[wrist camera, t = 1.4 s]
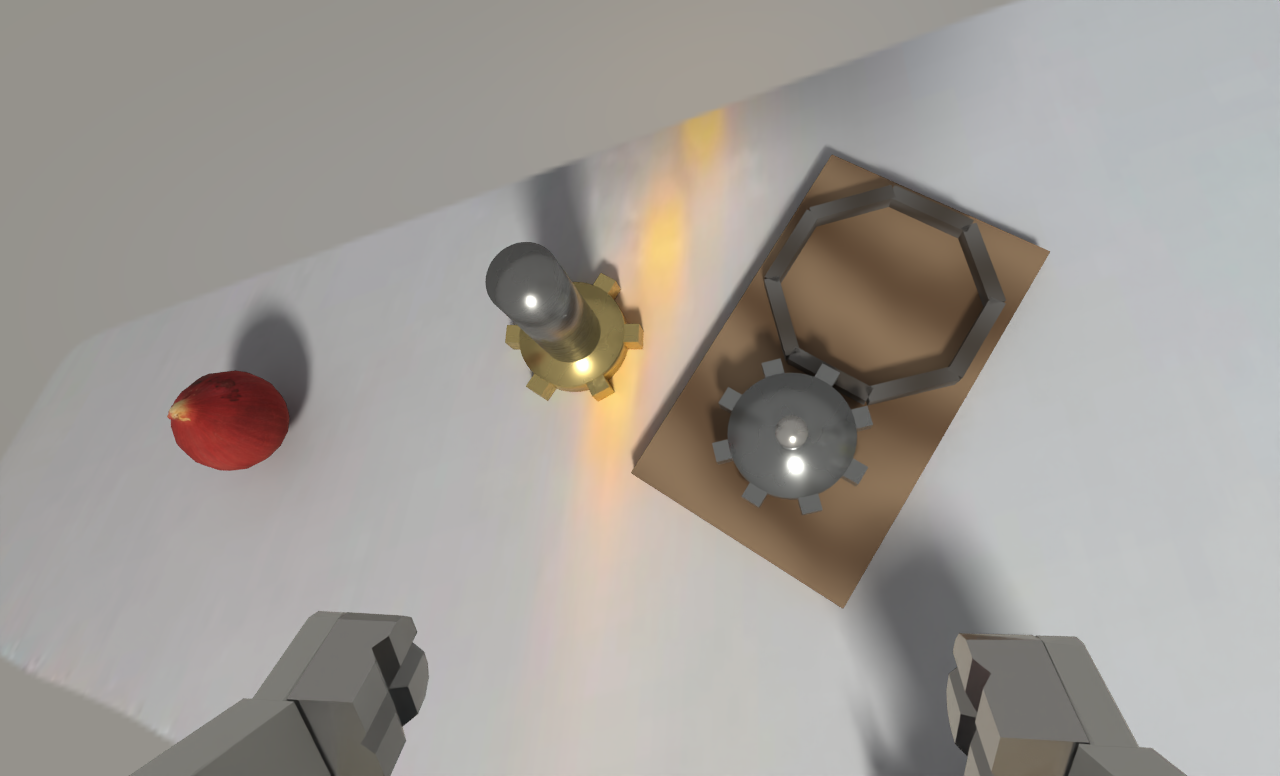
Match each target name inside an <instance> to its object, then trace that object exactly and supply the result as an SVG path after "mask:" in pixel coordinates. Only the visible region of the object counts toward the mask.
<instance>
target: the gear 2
mask: <svg viewBox="0 0 1280 776" xmlns="http://www.w3.org/2000/svg"><path fill="white" fill-rule="evenodd" d="M762 371H763V374H764V379H762V380H760V381H758V382H757V383H755V384H754V385H752V386H751V387H750V388H749V389H747V390H746V391H745V392H744V393H743V394H740V393H738V392H736V391H735V390H733V389H731V388H729V387H728V388H727V390H726V392H725V393H724V395H723V396H722V398H721V400H720V401H719V406H720V408H722V409H723V410H725V411H727V412H729V413H730V414H731V416H730V419H729V424H728V439H727V440H723V441H719V442H715V443H712V445H713V449H714V454H715V458H716V462H717V464H718V465H719V464H723V463H728V462H732V461H734V463H735V465H736V467H737V469H738V470H739V472H740V473H741V475H742V476H743V477H744V478H745V479H746V480H747V481H748V482H749V485H748V487H747V488H746V490H745V491H744V493H743V495H742V498H743V499H744V500H746V501H748V502H749V503H751V504H753V505H754V506H756V507H757V508H760V507H761V505H762V503H763V502H764V500H765V498H766V497H767V495H770V496H773V497H776V498H780V499H788V500H797V501H798V504H799V508H800V512H801V515H802V516H803V515H807V514H812V513H816V512H821V511H822V510H823V509H822V505H821V502H820V498H819V495H818V494H820V493H823V492H824V491H826V490H827V489H829V488H830V487H832V486H833V485H834V484H835V483H836V482H837V481H838V480H839V479H840V478H842V479H843V480H845V481H847V482H848V483H850V484H852V485H854V486H855V487H856V486H857V485H858V484H859V482H860V481H861V479H862V477H863V476H864V474H865V472H866V471H867V469H868V467H867V466H866V465H864V464H862V463H860V462H859V461H857V460H855V459H853V457H854V454H855V450H856V445H857V432H859V431H863V430H867V429H870V428H871V427H872V426H873V422H872V419H871V416H870V413H869V409H868V406H864V407H860V408H856V409H852V410H851V409H850V407H849V405H848V403H847V402H846V401H845V399H844V398H843V397H842V396H841V394H840V393H839V392H838V391H837V390H835V389H834V388H833V386H834V384H835V383H836V381H837V379H838V377H839V374H840V373H839V372H838V371H836V370H834V369H832V368H830V367H828V366H826V365H825V364H823V363H822V365H821V367H820V368H819V370H818V372H817V373H816V375H815V377H813V376H810V375H806V374H801V373H784V369H783V365H782V362H781V358H780V359H776V360H772V361H768V362H764V363H762Z"/></svg>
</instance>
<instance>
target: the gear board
mask: <svg viewBox="0 0 1280 776" xmlns="http://www.w3.org/2000/svg"><path fill="white" fill-rule="evenodd" d="M1049 253H1050V251H1048V250H1046V249H1043V248H1041V247H1039V246H1037V245H1034V244H1032V243H1030V242H1028V241H1025V240H1023V239H1021V238H1019V237H1016V236H1014V235H1012V234H1010V233H1007V232H1005V231H1003V230H1001V229H998V228H996V227H994V226H992V225H989V224H987V223H985V222H983V221H980V220H978V219H976V218H974V217H971V216H969V215H967V214H965V213H962V212H960V211H958V210H956V209H953V208H951V207H949V206H947V205H944V204H942V203H940V202H938V201H935V200H933V199H931V198H929V197H926V196H924V195H922V194H920V193H917V192H915V191H913V190H911V189H908V188H906V187H904V186H902V185H899V184H897V183H895V182H893V181H890V180H888V179H886V178H884V177H881V176H879V175H877V174H875V173H872V172H870V171H868V170H866V169H863V168H861V167H859V166H857V165H854V164H852V163H850V162H848V161H845V160H843V159H841V158H839V157H836V156H834V155H831V157H830V158H829V160H828V162H827V163H826V165H825V166H824V168H823V169H822V171H821V173H820V174H819V176H818V177H817V179H816V181H815V182H814V184H813V185H812V187H811V188H810V190H809V192H808V193H807V195H806V196H805V198H804V200H803V201H802V203H801V204H800V206H799V207H798V209H797V211H796V212H795V214H794V215H793V217H792V219H791V220H790V222H789V223H788V225H787V226H786V228H785V230H784V231H783V233H782V234H781V236H780V238H779V239H778V241H777V242H776V244H775V245H774V247H773V249H772V250H771V252H770V253H769V255H768V257H767V258H766V260H765V261H764V263H763V264H762V266H761V268H760V269H759V271H758V272H757V274H756V276H755V277H754V279H753V280H752V282H751V284H750V285H749V287H748V288H747V290H746V291H745V293H744V295H743V296H742V298H741V299H740V301H739V303H738V304H737V306H736V307H735V309H734V310H733V312H732V314H731V315H730V317H729V318H728V320H727V322H726V323H725V325H724V326H723V328H722V329H721V331H720V333H719V334H718V336H717V337H716V339H715V341H714V342H713V344H712V345H711V347H710V348H709V350H708V352H707V353H706V355H705V356H704V358H703V360H702V361H701V363H700V364H699V366H698V367H697V369H696V371H695V372H694V374H693V375H692V377H691V379H690V380H689V382H688V383H687V385H686V386H685V388H684V390H683V391H682V393H681V394H680V396H679V398H678V399H677V401H676V402H675V404H674V405H673V407H672V409H671V410H670V412H669V413H668V415H667V417H666V418H665V420H664V421H663V423H662V424H661V426H660V428H659V429H658V431H657V432H656V434H655V436H654V437H653V439H652V440H651V442H650V444H649V445H648V447H647V448H646V450H645V451H644V453H643V455H642V456H641V458H640V459H639V461H638V463H637V464H636V466H635V467H634V469H633V470H632V472H631V473H632V474H633V475H635V476H636V477H638V478H640V479H641V480H643V481H644V482H646V483H647V484H649V485H651V486H652V487H654V488H655V489H657V490H658V491H660V492H661V493H663V494H665V495H666V496H668V497H669V498H671V499H672V500H674V501H676V502H677V503H679V504H680V505H682V506H683V507H685V508H686V509H688V510H690V511H691V512H693V513H694V514H696V515H697V516H699V517H700V518H702V519H704V520H705V521H707V522H708V523H710V524H711V525H713V526H715V527H716V528H718V529H719V530H721V531H722V532H724V533H725V534H727V535H729V536H730V537H732V538H733V539H735V540H736V541H738V542H740V543H741V544H743V545H744V546H746V547H747V548H749V549H750V550H752V551H754V552H755V553H757V554H758V555H760V556H761V557H763V558H765V559H766V560H768V561H769V562H771V563H772V564H774V565H775V566H777V567H779V568H780V569H782V570H783V571H785V572H786V573H788V574H789V575H791V576H793V577H794V578H796V579H797V580H799V581H800V582H802V583H804V584H805V585H807V586H808V587H810V588H811V589H813V590H814V591H816V592H818V593H819V594H821V595H822V596H824V597H825V598H827V599H829V600H830V601H832V602H833V603H835V604H836V605H838V606H839V607H841V608H844V606H845V605H846V603H847V601H848V600H849V598H850V596H851V594H852V593H853V591H854V589H855V587H856V586H857V584H858V582H859V581H860V579H861V577H862V575H863V574H864V572H865V570H866V569H867V567H868V565H869V563H870V562H871V560H872V558H873V556H874V555H875V553H876V551H877V550H878V548H879V546H880V544H881V543H882V541H883V539H884V537H885V536H886V534H887V532H888V531H889V529H890V527H891V525H892V524H893V522H894V520H895V518H896V517H897V515H898V513H899V512H900V510H901V508H902V506H903V505H904V503H905V501H906V500H907V498H908V496H909V494H910V493H911V491H912V489H913V487H914V486H915V484H916V482H917V481H918V479H919V477H920V475H921V474H922V472H923V470H924V468H925V467H926V465H927V463H928V462H929V460H930V458H931V456H932V455H933V453H934V451H935V449H936V448H937V446H938V444H939V443H940V441H941V439H942V437H943V436H944V434H945V432H946V431H947V429H948V427H949V425H950V424H951V422H952V420H953V418H954V417H955V415H956V413H957V412H958V410H959V408H960V406H961V405H962V403H963V401H964V399H965V398H966V396H967V394H968V393H969V391H970V389H971V387H972V386H973V384H974V382H975V380H976V379H977V377H978V375H979V374H980V372H981V370H982V368H983V367H984V365H985V363H986V361H987V360H988V358H989V356H990V355H991V353H992V351H993V349H994V348H995V346H996V344H997V343H998V341H999V339H1000V337H1001V336H1002V334H1003V332H1004V330H1005V329H1006V327H1007V325H1008V324H1009V322H1010V320H1011V318H1012V317H1013V315H1014V313H1015V311H1016V310H1017V308H1018V306H1019V305H1020V303H1021V301H1022V299H1023V298H1024V296H1025V294H1026V292H1027V291H1028V289H1029V287H1030V286H1031V284H1032V282H1033V280H1034V279H1035V277H1036V275H1037V274H1038V272H1039V270H1040V268H1041V267H1042V265H1043V263H1044V261H1045V260H1046V258H1047V256H1048V255H1049ZM780 358H781V362H782V365H783V369H784V373H801V374H806V375H810V376H813V377H815V375H816V373H817V372H818V370H819V368H820V367H821V365H822V363H823V364H825V365H826V366H828V367H830V368H832V369H834V370H836V371H838V372H839V373H840V374H839V377H838V379H837V381H836V383H835V384H834V386H833V388H834V389H835V390H837V391H838V392H839V393H840V394H841V396H842V397H843V398H844V399H845V401H846V402H847V403H848V405H849V407H850V409H851V410H852V409H856V408H860V407H864V406H868V409H869V413H870V416H871V419H872V422H873V426H872V427H871V428H870V429H867V430H863V431H859V432H857V445H856V450H855V454H854V457H853V459H855V460H857V461H859V462H860V463H862V464H864V465H866V466H867V467H868V469H867V471H866V472H865V474H864V476H863V477H862V479H861V481H860V482H859V484H858V485H857V486H856V487H855V486H854V485H852V484H850V483H848V482H847V481H845V480H843V479H842V478H840V479H839V480H838V481H837V482H836V483H835V484H834V485H833V486H832V487H830V488H829V489H827V490H826V491H824V492H823V493H820V494H818V495H819V498H820V502H821V505H822V509H823V510H822V511H821V512H816V513H812V514H807V515H803V516H802V515H801V512H800V508H799V504H798V501H797V500H788V499H780V498H776V497H773V496H770V495H767V497H766V498H765V500H764V502H763V503H762V505H761V507H760V508H757V507H756V506H754V505H753V504H751V503H749V502H748V501H746V500H744V499H743V498H742V495H743V493H744V491H745V490H746V488H747V487H748V485H749V482H748V481H747V480H746V479H745V478H744V477H743V476H742V475H741V473H740V472H739V470H738V469H737V467H736V465H735V463H734V461H732V462H728V463H723V464H719V465H718V464H717V462H716V458H715V454H714V449H713V445H712V443H715V442H719V441H723V440H727V439H728V424H729V419H730V416H731V414H730V413H729V412H727V411H725V410H723V409H722V408H720V406H719V401H720V400H721V398H722V396H723V395H724V393H725V392H726V390H727V388H728V387H729V388H731V389H733V390H735V391H736V392H738V393H740V394H743V393H744V392H745V391H746V390H747V389H749V388H750V387H751V386H752V385H754V384H755V383H757V382H758V381H760V380H762V379H764V374H763V371H762V363H764V362H768V361H772V360H776V359H780Z"/></svg>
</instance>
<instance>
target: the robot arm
mask: <svg viewBox="0 0 1280 776" xmlns="http://www.w3.org/2000/svg"><path fill="white" fill-rule="evenodd" d="M416 634H417V630H416V627H415V625H414V622H413V620H412V617H408V616H399V615H382V614H366V613H350V612H347V613H345V612H325V611H318V612H316V613H315V614H313V615H312V616H311V617H309V618H308V619H307V621H306V622H305V624H304V625H303V626H302V628H301V629H300V631H299V632H298V634H297V635H296V636H295V638H294V639H293V641H292V642H291V644H290V645H289V647H288V648H287V649H286V651H285V652H284V654H283V655H282V657H281V658H280V660H279V661H278V662H277V664H276V665H275V667H274V668H273V670H272V671H271V673H270V674H269V675H268V677H267V678H266V680H265V681H264V683H263V684H262V686H261V687H260V688H259V690H258V691H257V693H256V694H255V696H254V697H253V699H242V700H241V701H239V702H238V703H236V704H235V705H233V706H232V707H230V708H229V709H227V710H226V711H224V712H223V713H221V714H220V715H218V716H217V717H215V718H214V719H212V720H211V721H209V722H208V723H206V724H205V725H203V726H202V727H200V728H199V729H198V730H196V731H195V732H193V733H192V734H190V735H189V736H187V737H186V738H184V739H183V740H181V741H180V742H178V743H177V744H175V745H174V746H172V747H171V748H170V749H168V750H166V751H165V752H163V753H162V754H161V755H159V756H157V757H156V758H155V759H153V760H152V761H150V762H149V763H147V764H146V765H144V766H143V767H141V768H140V769H138V770H137V771H135V772H134V773H132V774H131V775H129V776H391V773H392V771H393V769H394V767H395V764H396V762H397V760H398V758H399V756H400V753H401V751H402V749H403V747H404V744H405V742H406V738H405V734H404V730H403V726H404V725H405V724H406V723H408V722H409V721H410V720H411V719H412V718H414V717H415V716H416V715H417V714H418V713H419V710H420V708H421V706H422V703H423V701H424V699H425V696H426V690H427V685H428V679H429V672H428V662H427V659H426V656H425V653H424V651H423V650H421V649H420V648H419V647H418V646H417V645H415V644H414V643H413V640H414V638H415V636H416ZM953 654H954V658H955V661H956V664H957V668H955V669H954V670H953V671H952V672H950V673H949V675H948V682H947V690H946V693H947V712H948V717H949V723H950V728H951V731H952V735H953V739H954V742H955V744H956V745H957V746H958V747H959V748H960V749H961V750H962V751H963V752H964V753H965V754H966V755H967V756H968V758H967V762H966V767H965V772H964V776H1187V775H1186V774H1184V773H1183V772H1182V771H1181V770H1179V769H1178V768H1177V767H1176V766H1174V765H1173V764H1172V763H1170V762H1169V761H1168V760H1167V759H1165V758H1164V757H1163V756H1162V755H1160V754H1159V753H1158V752H1156V751H1155V750H1154V749H1153V748H1144V747H1139V746H1138V744H1137V742H1136V740H1135V738H1134V736H1133V734H1132V733H1131V731H1130V729H1129V727H1128V725H1127V723H1126V721H1125V720H1124V718H1123V716H1122V714H1121V712H1120V710H1119V708H1118V706H1117V705H1116V703H1115V701H1114V699H1113V697H1112V695H1111V693H1110V692H1109V690H1108V688H1107V686H1106V684H1105V682H1104V680H1103V678H1102V677H1101V675H1100V673H1099V671H1098V669H1097V667H1096V665H1095V664H1094V662H1093V660H1092V658H1091V656H1090V654H1089V652H1088V651H1087V649H1086V647H1085V645H1084V643H1083V642H1082V641H1081V640H1079V639H1078V638H1077V637H1068V636H1033V635H1010V634H963V633H959V634H958V636H957V637H956V639H955V643H954V648H953Z"/></svg>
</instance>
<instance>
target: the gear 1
mask: <svg viewBox="0 0 1280 776" xmlns="http://www.w3.org/2000/svg"><path fill="white" fill-rule="evenodd" d="M486 289H487V293H488V295H489V297H490V299H491V300H492V302H493V303H494V304H495V305H496V306H497V307H498V308H499V309H500V310H502V311H503V312H504V313H505V314H506V315H507V316H508V317H509V318H510V319H511V320H512V321H513V322H514V323H516V324H517V325H507V330H506V340H505V343H506V344H508V345H509V346H510V347H511V348H513V349H520V350H521V354H522V356H523V359H524V361H525V362H526V364H527V366H528V367H529V368H530V369H531V371H532V372H533V373H534V375H533V376H532V378H531V379H530V381H529V382H528V384H527V386H526V387H528V388H529V389H530V390H532V391H533V392H535V393H536V394H538V395H540V396H541V397H543V398H544V399H546V400H547V401H548V400H549V399H550V397H551V396H552V394H553V393H554V391H555V390H556V388H557V389H559V390H563V391H569V392H581V391H586V390H590V392H591V394H592V396H593V397H594V398H595V399H596V400H597V401H600V400H602V399H604V398H606V397H607V396H609V395H611V394H613V393H614V391H613V389H612V387H611V385H610V383H609V381H608V380H609V379H610V378H611V377H612V376H613V375H614V374H615V373H616V372H617V371H618V369H619V368H620V366H621V365H622V363H623V361H624V359H625V357H626V354H627V351H628V349H643V330H642V328H641V326H640V324H627V321H626V319H625V317H624V315H623V313H622V312H621V310H620V308H619V307H618V305H617V303H616V302H615V301H614V299H615V298H616V296H617V295H618V293H619V292H620V290H621V289H620V287H619V286H618V284H617V282H616V281H615V280H613V279H611V278H609V277H608V276H606V275H604V274H602V273H600V275H599V276H598V278H597V279H596V281H595V282H594V284H593V285H591V284H588V283H582V282H572V281H571V280H570V279H569V277H568V276H567V274H566V273H565V272H564V270H563V269H562V267H561V266H560V265H559V263H558V262H557V260H556V259H555V258H554V256H553V255H552V254H551V252H550V251H549V250H547V249H546V248H545V247H543V246H541V245H539V244H536V243H531V242H521V243H516V244H513V245H511V246H509V247H507V248H505V249H503V250H502V251H501V252H500V253H499V254H498V255H497V256H496V257H495V258H494V259H493V261H492V262H491V264H490V266H489V268H488V271H487V275H486Z"/></svg>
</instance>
